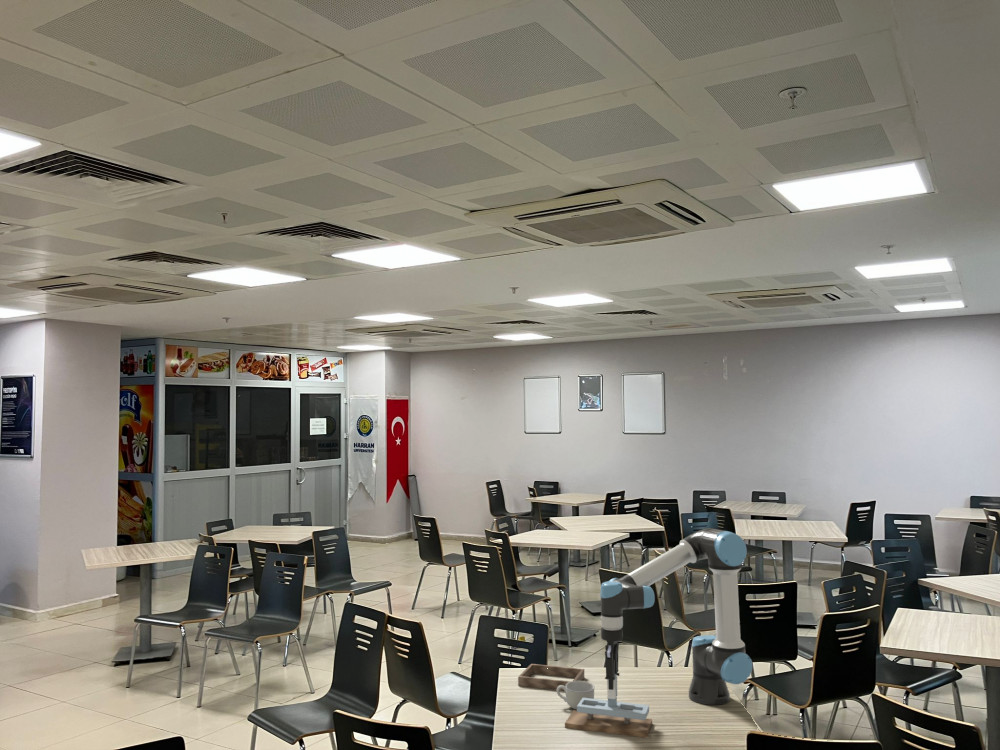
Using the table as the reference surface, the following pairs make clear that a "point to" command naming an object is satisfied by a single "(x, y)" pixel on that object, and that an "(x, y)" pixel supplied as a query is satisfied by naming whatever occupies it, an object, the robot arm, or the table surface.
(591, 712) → the blue post stand
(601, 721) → the boss board
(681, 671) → the table surface
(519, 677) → the open brown wooden frame
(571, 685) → the teacup
